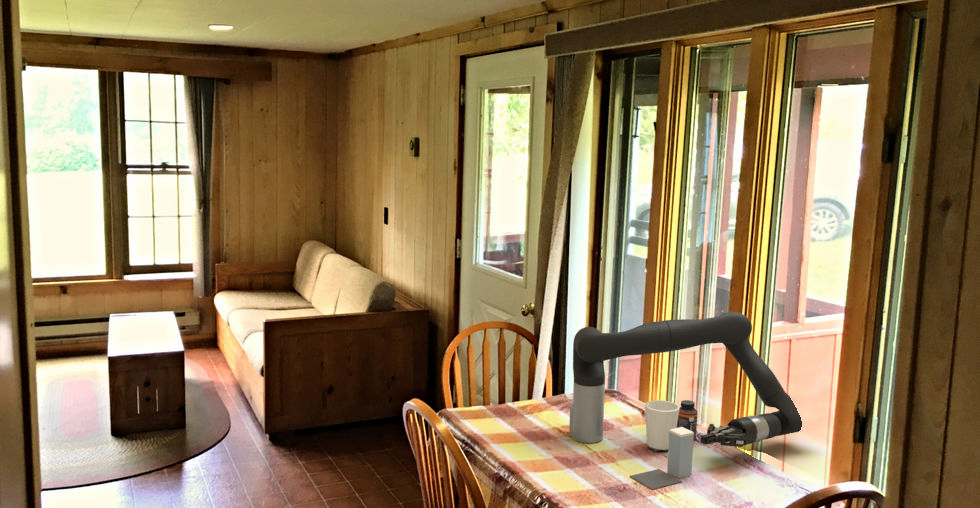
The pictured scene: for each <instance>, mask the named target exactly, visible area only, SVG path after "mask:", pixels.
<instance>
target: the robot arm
mask: <svg viewBox="0 0 980 508" xmlns="http://www.w3.org/2000/svg"><path fill="white" fill-rule="evenodd" d="M752 330H753V325H752V322H751V320H750V318H748V316H746V315H744V314H743V313H741V312H737V311H732V312H731V311H730V312H724V313H722V314H720V315H717V316H713V317H709V318H708V317H707V318H701V319H700V318H699V319H693V318H692V319H688V318H687V319H686V318H685V319H681V318H680V319H666V320H658V321H657V320H656V321H652V322H651V321H650V322H647V323H643V324H641V325H640V324H639V325H638V326H635V327H633V328H631V329H628V330H624V331H621V332H620V331H617V332H601V331H600V330H599V329H597V328H596V327H593V326H585V327H582V328H581V329H579V330H578V331H577V332H576V334H575V336H574V338H573V341H572V342H573V344H572V345H573V346H572V372H573V386H572V387H573V388H572V389H573V393H572V395H573V396H572V404H571V405H570V406H569V425H568V426H569V427H568V436H569V437H570V438H572V439H573V440H575V441H577V442H580V443H588V444H591V443H592V444H593V443H594V444H595V443H599V442H601V441H602V440H603V438H604V421H605V420H604V416H605V415H604V414H605V390H606V387H605V386H606V374H605V373H606V372H605V365H604V363H605V361H608V360H615V359H618V358H622V357H628V356H629V357H630V356H642V355H650V354H651V355H652V354H661V353H670V352H675V351H682V350H686V349H691V348H695V347H698V346H702V345H703V346H704V345H710V344H712V345H713V344H723V345H724V346H725V348H726V349H727V351H729V353H730V354H731V355H732V357H733V358H734V359H735V360H736V362H737V364H738V365H739V366H740V368H741V369H742V371H743V372H744V374H745V375H746V376H747V379H748V380H749V382H750V383H751V385H752V386H753V388H754V390H755V391H756V393H757V395H758V396H759V398H760V400H761V402H762V403H763V405H764V406H765V407H768V408H775V409H777V411H773V412H769V413H767V412H766V413H761V414H757V415H756V414H755V415H748V416H743V417H738V418H733V419H731V420H730V421H729V422H728V423H727V424H726V425H720V426H718V427H717V426H715V424H714V423H709V425H708V427H707V428H706V434H702V435H700V440H699V441H700V443H701V444H703V445H705V446H706V445H710V444H716V445H718V444H720V445H721V446H726V447H738V448H739V447H740V448H743V447H744V446H747V445H751V444H752V445H753V444H755V443H760V442H761V441H765V440H770V439H773V438H775V437H779V436H786V435H789V434H790V433H791V434H795V433H800V432H801V431H800V430H801V427H802V421H801V417H800V415H799V413H798V411H797V408H796V407H795V405H794V403H793V401H792V400H791V398H792V397H791V396H790V394H788V393H787V392H786V391H785V390H784V388H783V385H781V382H780V381H779V380H778V378H777V376H776V375H775V374H774V372H773V370H772V369H771V368H770V367H769V366H768V364H766V362H765V361H764V360H763V359H762V358H761V356H760V355H759V354H758V353H757V351H755V348H754V347H753V345H752V344H751V342H750V340H749V337H750V336H751V333H752ZM790 397H791V398H790ZM799 431H800V432H799Z"/></svg>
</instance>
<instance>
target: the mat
mask: <svg viewBox="0 0 980 508" xmlns="http://www.w3.org/2000/svg"><path fill="white" fill-rule="evenodd" d="M629 478H631V479H633V480H635V481H636V482H637V483H639V482H640V483H639V484H641V485H643V486H644V485H645V487H647V488H648V489H650V490H653V491H654V490H656V489H661V488H665V487H668V486H670V487H671V486H674V485H677V484H680V483H682V482H683V481H682V480H680V479H679V478H677V477H675V476H673V475H671V474H670V473H668V472H667V471H664V470H662V469H660V468H658V469H657V468H656V469H653V470H649V471H645V472H640V473H636V474H632V475H629Z"/></svg>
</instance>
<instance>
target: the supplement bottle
mask: <svg viewBox="0 0 980 508" xmlns="http://www.w3.org/2000/svg"><path fill="white" fill-rule="evenodd" d="M695 407H696V406H695V401H693V400H688V399H687V400H686V399H684V400H681V401H680V406H679V415H678V421H677V428H679V427H683V428H686V429H688V430H690V431H692V432H694V439H693V441H694V440H696V439H697V429H698V410H697V409H696V408H695Z"/></svg>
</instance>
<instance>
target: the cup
mask: <svg viewBox="0 0 980 508" xmlns="http://www.w3.org/2000/svg"><path fill="white" fill-rule="evenodd" d="M679 408H680V405H679V404H677V403H676V402H672V401H669V400H661V399H660V400H659V399H657V400H656V399H654V400H650V401H646V402H645V403H644V410H645V411H644V412H645V428H646V431H645V433H646V445H647V448H649V449H652V450H653V451H654V452H659V451H664V452H666V453H668V447H669V430H670V429H675V428H677V421H678V415H679Z"/></svg>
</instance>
